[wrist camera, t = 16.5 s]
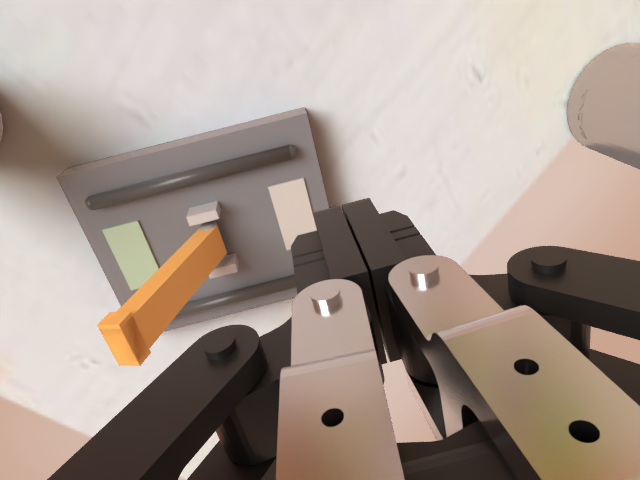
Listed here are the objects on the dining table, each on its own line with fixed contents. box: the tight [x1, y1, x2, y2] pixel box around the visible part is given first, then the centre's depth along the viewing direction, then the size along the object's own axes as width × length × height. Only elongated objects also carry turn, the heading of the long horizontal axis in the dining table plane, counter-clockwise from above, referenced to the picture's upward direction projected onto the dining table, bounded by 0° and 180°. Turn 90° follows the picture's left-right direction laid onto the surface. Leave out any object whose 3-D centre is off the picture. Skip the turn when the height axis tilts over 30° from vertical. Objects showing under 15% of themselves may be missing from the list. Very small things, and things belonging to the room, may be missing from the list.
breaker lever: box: [97, 220, 228, 366], centre depth 34 cm, size 2×3×14 cm, turn 13°
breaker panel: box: [57, 108, 329, 331], centre depth 41 cm, size 20×16×4 cm
